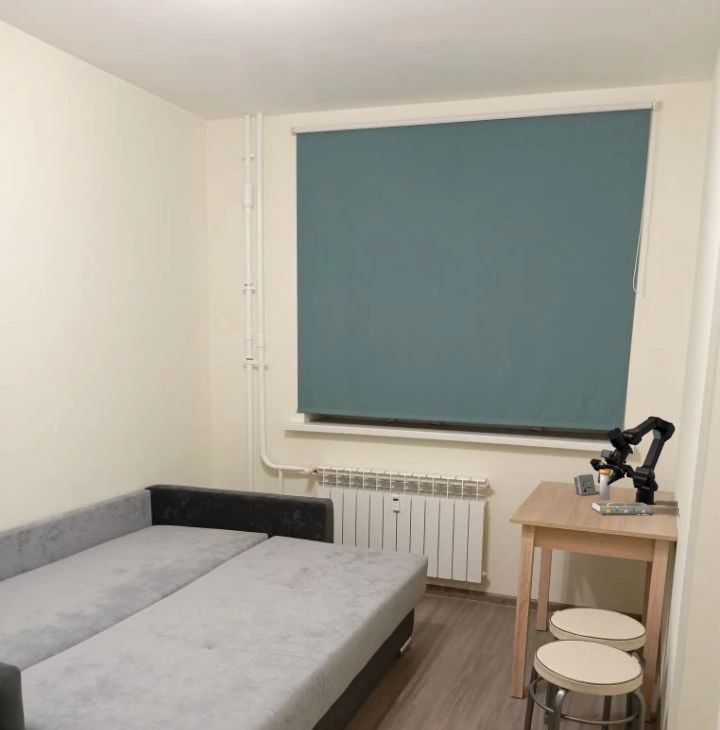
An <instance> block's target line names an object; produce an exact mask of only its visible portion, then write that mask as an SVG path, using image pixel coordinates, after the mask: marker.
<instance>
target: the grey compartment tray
mask: <svg viewBox="0 0 720 730" xmlns="http://www.w3.org/2000/svg"><path fill="white" fill-rule="evenodd" d="M651 508H652V507H651V506H650V505H646V504H644V503H637V502H592V506H591V510H593V511H594V510H595V512H596V513H598V514H599V513H600V514H599V515H601V516H638V515H637V514H640V515H639V516H643V515H642V514H646V515H645V516H648V515H647V514H654V515H655V513H654V512H652V511H651V510H652V509H651Z"/></svg>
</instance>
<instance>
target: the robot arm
mask: <svg viewBox="0 0 720 730" xmlns="http://www.w3.org/2000/svg"><path fill="white" fill-rule="evenodd" d="M651 431H652V435H653V438H652V442H651V444H650V446H649V449H648V452H647V454H646V456H645V459H644V461H643V463H642V465H641V466H636V468H635V470H634V469H633V467H632V465H631V464H627V461H626V460H627V458H628V456H629V455H630V454H631V455H633V454H634V450H633V447H631V446H638V445H639V444H640V443H641V442H642V441H643V437H644V436H645V435H647V434H648V433H651ZM675 432H676V426H675V425H674V423H673V422H670V421H667V420H664V419H663V418H661V417H659V416H653V415H651V416H648V417H647V419H645V420H644V421H642V422H641V423H639V424H638V425H636V426H635V427H633V428H627V429H625V430H621V427H615V428H614V429H611V430H609V431H607V433H606V438H607V440H608V441H609V443H610V444H611V446H612V448H614V450H610V449H602V450H601V453H600V457H601V458H603V459H604V461H602V459H600V458H591V459H590V461H589V464H590V465H591V467H592V469H593V470H594V471H596V472H598V475H597V483H598V484H600V473H599V470H600V469H606V470H611V471H612V472H611V474H610V478H609V480H608V482H607V485H610V486H611V485H612V484H613V483H615V482H617V481H619V480H621V479H625V478H626V477H627V478H628V479H632V483H633V484H632V485H633V488H634V489H636V492H635V499H634V503H644V504H646V505H648V506H650V505H657V503H656V502H655V492H657V491H658V489H659V484H658V483H657V481H656V474H655V468H656V466H657V464H658V461H659V458H660V456H661V454H662V451H663V448H664V446H665V444H666V442H667V441H668V440H670V439H672V437H673V435H674V433H675ZM625 475H626V476H625Z"/></svg>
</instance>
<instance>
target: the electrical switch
mask: <svg viewBox="0 0 720 730" xmlns="http://www.w3.org/2000/svg"><path fill="white" fill-rule="evenodd" d="M573 481H574V486H575V492H576V495H579V496H581V495H582V496H589V494H591V495H596V494H597V491H596V485H595V484H596V483H595V480H594V475H593V474H592V473H587V474H577V475H576V476H575V477H573Z"/></svg>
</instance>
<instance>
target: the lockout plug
mask: <svg viewBox="0 0 720 730" xmlns="http://www.w3.org/2000/svg"><path fill="white" fill-rule="evenodd" d="M599 473H600V483H599V497H598V498H599V500H601V501H610V498H611V494H610V493H611V484H610V485H607V482H608V480H609V478H610V476H611V474H612V470H609V469H607V470H606V469H600V470H599V472H598V474H599Z"/></svg>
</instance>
